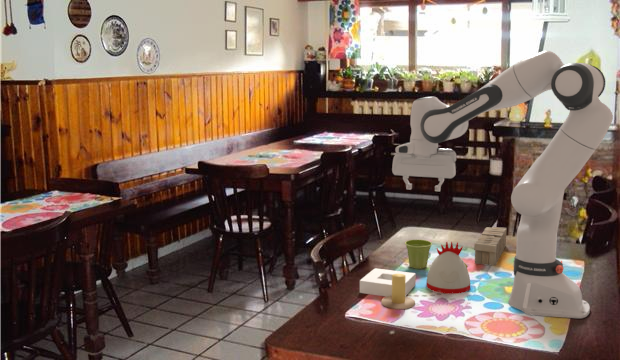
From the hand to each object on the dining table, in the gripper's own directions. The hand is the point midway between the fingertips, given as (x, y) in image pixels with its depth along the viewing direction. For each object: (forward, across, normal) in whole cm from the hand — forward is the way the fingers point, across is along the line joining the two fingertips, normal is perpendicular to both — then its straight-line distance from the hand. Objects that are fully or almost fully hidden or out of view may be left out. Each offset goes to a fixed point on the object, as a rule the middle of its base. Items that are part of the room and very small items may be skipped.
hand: (423, 190), depth 210 cm
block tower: (+31, -16, -40) cm, 53 cm away
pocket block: (+31, +8, +12) cm, 34 cm away
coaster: (+31, +1, +23) cm, 38 cm away
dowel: (+30, +1, +23) cm, 38 cm away
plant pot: (+31, +6, -16) cm, 35 cm away
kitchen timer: (+31, -9, +2) cm, 32 cm away
